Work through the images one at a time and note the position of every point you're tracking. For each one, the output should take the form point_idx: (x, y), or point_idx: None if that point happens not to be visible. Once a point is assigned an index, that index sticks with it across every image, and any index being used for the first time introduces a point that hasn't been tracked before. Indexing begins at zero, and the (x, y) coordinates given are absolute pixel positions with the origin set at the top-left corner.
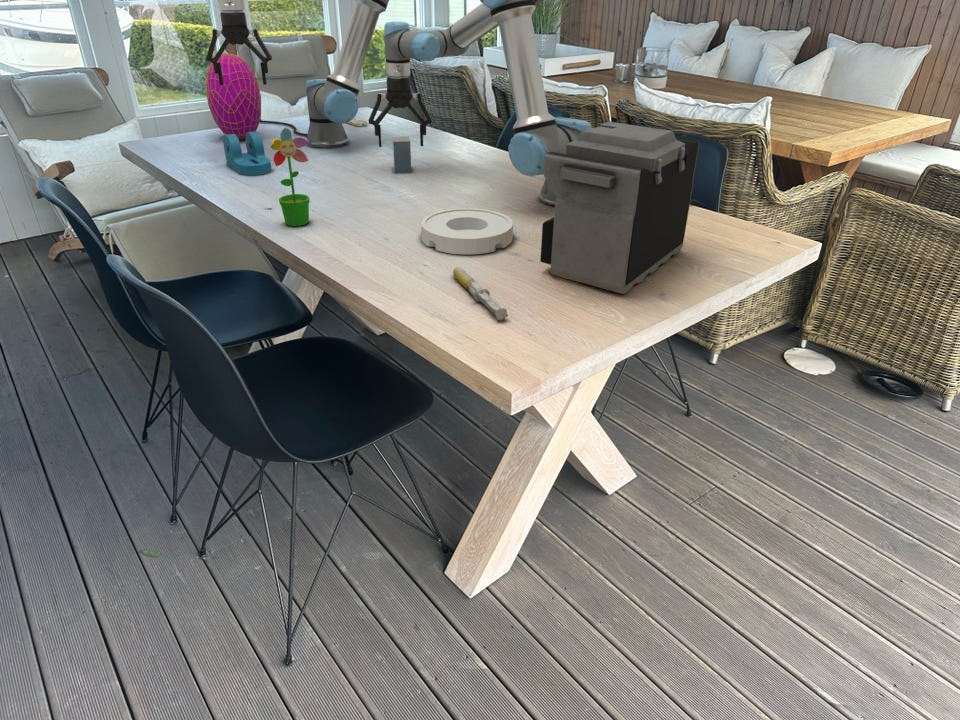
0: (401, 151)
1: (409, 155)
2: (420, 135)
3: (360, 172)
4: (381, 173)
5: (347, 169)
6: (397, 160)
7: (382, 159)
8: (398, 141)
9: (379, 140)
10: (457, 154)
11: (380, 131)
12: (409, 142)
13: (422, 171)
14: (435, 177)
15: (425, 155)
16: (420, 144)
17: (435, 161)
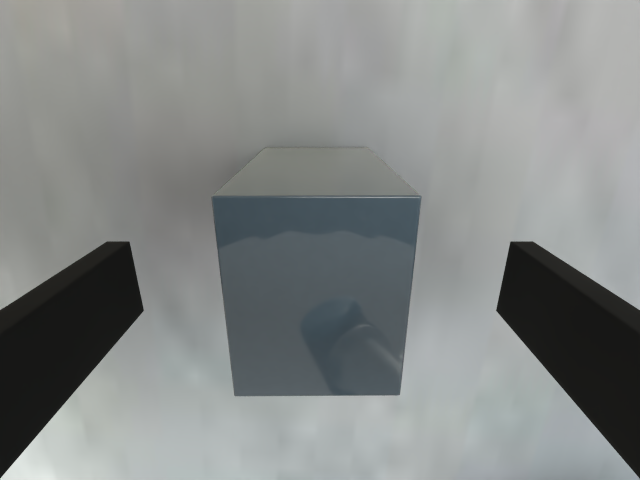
0: (323, 173)
1: (255, 165)
2: (75, 325)
3: (566, 196)
4: (449, 159)
5: (618, 263)
6: (357, 158)
7: (403, 412)
8: (356, 205)
9: (568, 268)
10: (42, 454)
11: (636, 327)
12: (223, 191)
13: (197, 176)
14: (99, 12)
15: (195, 451)
16: (139, 296)
17: (137, 359)
